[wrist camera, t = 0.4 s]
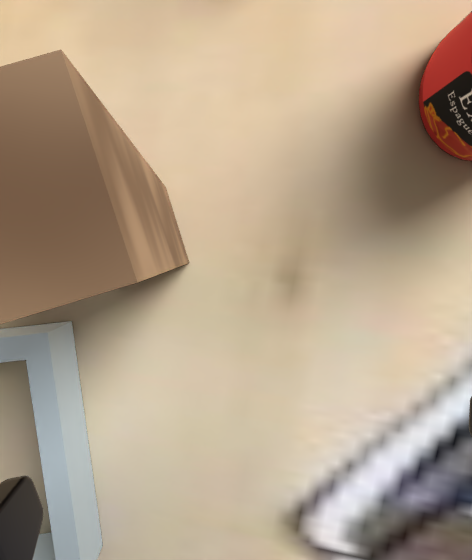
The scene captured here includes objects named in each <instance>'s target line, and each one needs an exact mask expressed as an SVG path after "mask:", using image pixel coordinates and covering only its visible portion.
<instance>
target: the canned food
mask: <svg viewBox="0 0 472 560" xmlns="http://www.w3.org/2000/svg"><path fill="white" fill-rule="evenodd" d="M419 108H420V114H421V118H422V121H423V124H424V126H425V129H426V130H427V132H428V134H429V135H430V137H431V139H432V140H433V141H434V142H435V143H436V144H437V145H438V146H439V147H440V148H441V149H442V150H444V151H445V152H447V153H448V154H450V155H452V156H454V157H457V158H459V159H463V160H469V161H472V11H471V12H470V13H469V14H468V15H467V16H466V17H465V18H464V19H463V20H462V21H461V22H460V23H459V24H458V25H457V26H456V27H455V28H454V29H453V30H451V31H450V32H449V34H448V35H447V36H446V37H445V38H444V39H443V40H442V41H441V42H440V43H439V45H438V46H437V48H436V50H435V51H434V53H433V54H432V56H431V58H430V60H429V62H428V64H427V66H426V69H425V71H424V74H423V76H422V80H421V84H420V89H419Z"/></svg>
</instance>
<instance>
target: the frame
mask: <svg viewBox="0 0 472 560" xmlns="http://www.w3.org/2000/svg"><path fill="white" fill-rule="evenodd" d="M19 360H26V364H27V371H28V378H29V385H30V391H31V398H32V405H33V411H34V418H35V425H36V431H37V438H38V445H39V451H40V458H41V465H42V471H43V478H44V485H45V492H46V498H47V505H48V512H49V518H50V525H51V532H52V533H44V534H39V537H38V541H37V544H36V548H35V552H34V556H33V560H97V559H98V556H99V554H100V551H101V548H102V546H103V543H102V536H101V529H100V522H99V514H98V507H97V500H96V493H95V486H94V478H93V471H92V464H91V457H90V450H89V442H88V435H87V428H86V421H85V413H84V406H83V399H82V392H81V385H80V377H79V370H78V363H77V356H76V349H75V341H74V334H73V327H72V321H68V322H59V323H50V324H41V325H32V326H22V327H13V328H4V329H0V363H2V362H11V361H19Z"/></svg>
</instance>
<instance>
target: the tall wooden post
mask: <svg viewBox="0 0 472 560" xmlns="http://www.w3.org/2000/svg"><path fill="white" fill-rule="evenodd" d="M188 263H189V260H188V257H187V254H186V251H185V247H184V244H183V241H182V238H181V235H180V231H179V228H178V225H177V222H176V219H175V216H174V212H173V209H172V206H171V203H170V200H169V196H168V193H167V190H166V187H165V185H164V184H163V183H162V182H161V180H160V179H159V178H158V176H157V175H156V174H155V172H154V171H153V170H152V168H151V167H150V166H149V164H148V163H147V162H146V161H145V159H144V158H143V157H142V155H141V154H140V153H139V151H138V150H137V149H136V147H135V146H134V145H133V143H132V142H131V141H130V139H129V138H128V137H127V136H126V134H125V133H124V132H123V130H122V129H121V128H120V126H119V125H118V124H117V122H116V121H115V120H114V118H113V117H112V116H111V114H110V113H109V112H108V111H107V109H106V108H105V107H104V105H103V104H102V103H101V101H100V100H99V99H98V97H97V96H96V95H95V93H94V92H93V91H92V89H91V88H90V87H89V86H88V84H87V83H86V82H85V80H84V79H83V78H82V76H81V75H80V74H79V72H78V71H77V70H76V68H75V67H74V66H73V64H72V63H71V62H70V61H69V59H68V58H67V57H66V55H65V54H64V53H63V51H62V50H58V51H54V52H51V53H47V54H44V55H40V56H37V57H33V58H30V59H26V60H23V61H19V62H15V63H12V64H8V65H5V66H1V67H0V324H3V323H6V322H10V321H13V320H16V319H20V318H23V317H26V316H29V315H33V314H36V313H39V312H43V311H46V310H49V309H52V308H56V307H59V306H62V305H66V304H69V303H72V302H75V301H79V300H82V299H85V298H89V297H92V296H95V295H98V294H102V293H105V292H108V291H112V290H115V289H118V288H121V287H125V286H128V285H131V284H135V283H138V282H140V281H143V280H146V279H148V278H151V277H154V276H156V275H159V274H161V273H164V272H167V271H169V270H172V269H175V268H177V267H180V266H182V265H185V264H188Z"/></svg>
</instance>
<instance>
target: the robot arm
mask: <svg viewBox="0 0 472 560" xmlns="http://www.w3.org/2000/svg"><path fill="white" fill-rule="evenodd" d="M469 431H470V434H471V436H472V397H471V399H470V413H469ZM42 521H43V507H42V504H41V501H40V499H39V496H38V493H37V491H36V488H35V486H34V483H33V481H32V479H31V478H30V477H29V476H21V477H15V478H10V479H7V480H5V481H3V482H2V483H1V484H0V560H33V556H34V552H35V548H36V544H37V541H38V537H39V533H40V529H41V525H42Z"/></svg>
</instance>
